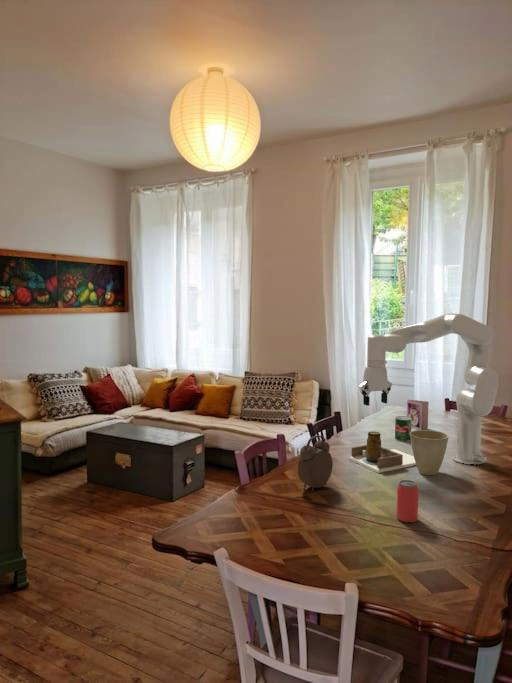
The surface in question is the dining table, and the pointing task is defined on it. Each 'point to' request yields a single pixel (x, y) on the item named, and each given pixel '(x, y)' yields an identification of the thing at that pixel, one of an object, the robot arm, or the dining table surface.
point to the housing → (388, 456)
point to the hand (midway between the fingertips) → (375, 403)
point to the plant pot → (428, 450)
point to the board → (407, 458)
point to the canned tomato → (402, 428)
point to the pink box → (418, 413)
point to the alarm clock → (315, 463)
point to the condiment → (373, 447)
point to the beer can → (407, 501)
